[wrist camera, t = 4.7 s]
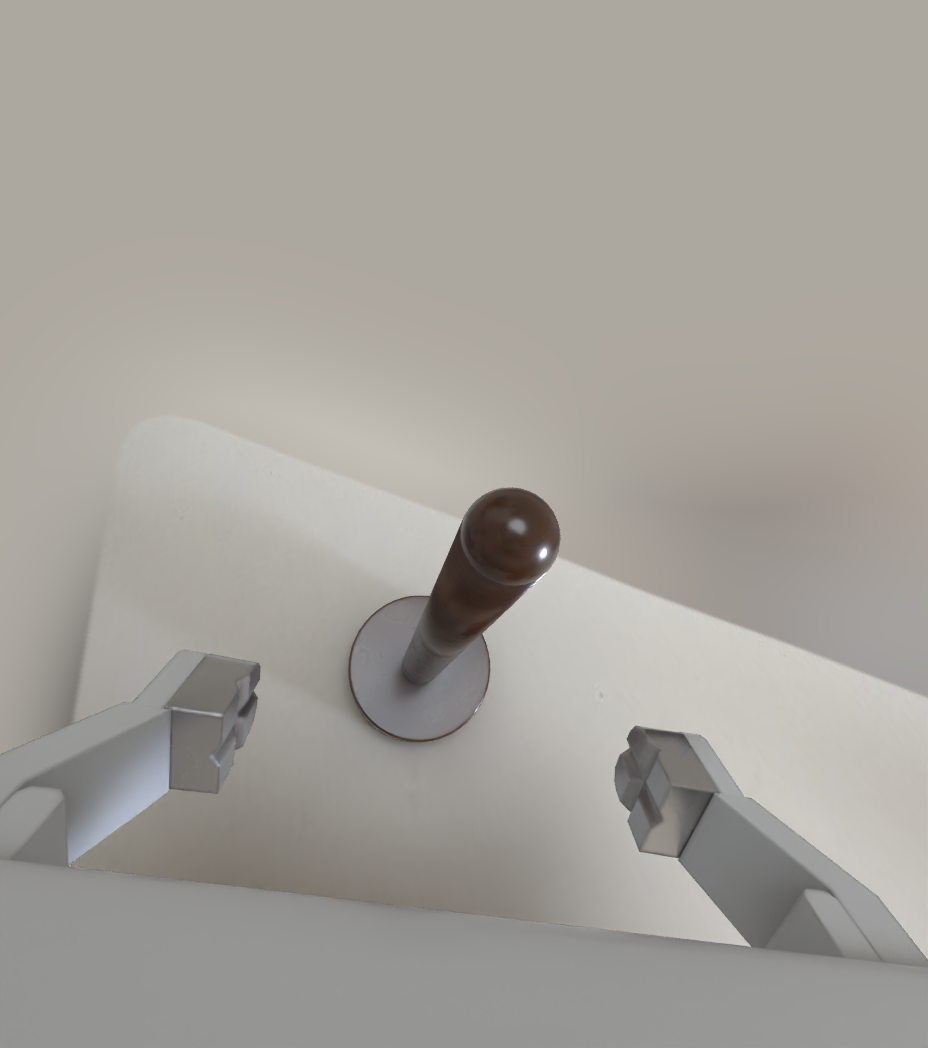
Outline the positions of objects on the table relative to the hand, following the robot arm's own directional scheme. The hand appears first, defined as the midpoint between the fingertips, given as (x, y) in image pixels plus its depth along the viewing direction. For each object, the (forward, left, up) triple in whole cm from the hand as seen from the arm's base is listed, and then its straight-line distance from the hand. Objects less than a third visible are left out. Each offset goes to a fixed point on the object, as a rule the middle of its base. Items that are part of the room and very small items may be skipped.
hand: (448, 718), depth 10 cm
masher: (-1, +2, -12) cm, 12 cm away
